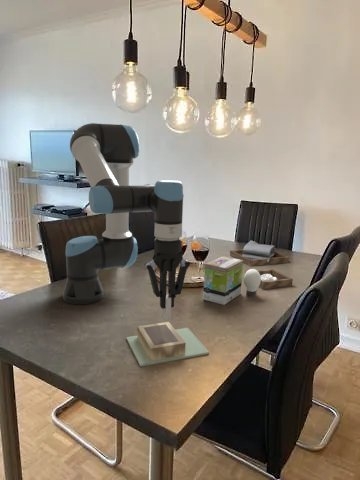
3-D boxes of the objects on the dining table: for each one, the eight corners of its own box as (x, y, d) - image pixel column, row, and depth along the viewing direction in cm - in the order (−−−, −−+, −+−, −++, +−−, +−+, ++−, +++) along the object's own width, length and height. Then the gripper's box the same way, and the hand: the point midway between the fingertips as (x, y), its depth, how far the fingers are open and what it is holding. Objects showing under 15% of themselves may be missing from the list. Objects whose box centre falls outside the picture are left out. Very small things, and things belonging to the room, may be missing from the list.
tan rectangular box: (185, 354, 104) (150, 360, 100) (168, 332, 117) (137, 337, 113) (185, 342, 103) (150, 348, 100) (168, 321, 116) (137, 326, 112)
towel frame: (249, 266, 191) (250, 260, 190) (229, 255, 210) (230, 250, 209) (288, 262, 199) (289, 257, 199) (266, 252, 218) (266, 247, 218)
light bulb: (245, 298, 147) (247, 271, 145) (240, 292, 154) (242, 266, 151) (262, 298, 148) (264, 271, 146) (256, 291, 155) (258, 266, 152)
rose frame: (262, 289, 158) (263, 282, 157) (244, 278, 172) (244, 272, 171) (292, 285, 164) (292, 279, 163) (272, 275, 177) (272, 269, 176)
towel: (241, 260, 199) (242, 246, 197) (248, 252, 215) (249, 239, 214) (270, 264, 193) (271, 249, 192) (275, 255, 210) (276, 242, 208)
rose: (283, 275, 164) (271, 279, 158) (282, 284, 165) (270, 289, 159) (263, 269, 171) (251, 273, 165) (263, 278, 172) (250, 283, 166)
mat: (140, 366, 98) (140, 364, 98) (126, 338, 113) (126, 337, 113) (209, 353, 106) (209, 352, 105) (187, 329, 120) (187, 327, 120)
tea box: (225, 305, 140) (227, 268, 136) (202, 300, 145) (203, 263, 142) (241, 294, 152) (243, 259, 149) (219, 288, 157) (221, 255, 154)
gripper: (149, 242, 96) (148, 326, 102) (195, 239, 101) (192, 320, 106) (141, 236, 103) (141, 315, 108) (185, 233, 108) (183, 310, 113)
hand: (166, 317), depth 107 cm, fingers closed
